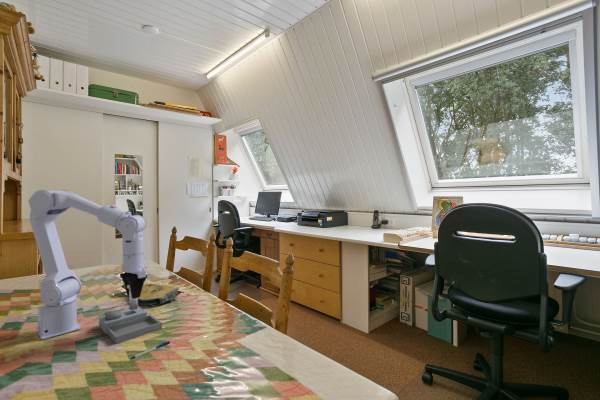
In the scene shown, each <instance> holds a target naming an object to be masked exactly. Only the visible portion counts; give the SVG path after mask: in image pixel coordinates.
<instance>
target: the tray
mask: <svg viewBox="0 0 600 400" xmlns="http://www.w3.org/2000/svg"><path fill="white" fill-rule="evenodd" d="M162 329H163V322H162V321H161V320H159V319H158V318H156V317H155V316H154V315H152V314H148V315H147V316H144V317H141V318H137V319H134V320H130V321H127V322H123V323H120V324H116V325H113V326H109V327H106V333H105V334H106V335H107V336H108V337H109V338H110V339H111V341H112V342H114V344H116V345H117V344H120V343H122V342H126V341H129V340H132V339H135V338H138V337H141V336H144V335H147V334H150V333H154V332H156V331H159V330H162Z"/></svg>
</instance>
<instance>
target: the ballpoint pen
mask: <svg viewBox="0 0 600 400" xmlns="http://www.w3.org/2000/svg"><path fill="white" fill-rule="evenodd" d="M169 344H171V342H170V340H167V341H164V342H162V343H160V344H158V345H156V346H155V347H154V346H153V347H152V348H150V349H147V350H145V351H142V352H140V353H138V354H135V355H133V356H132V357H131V358H130V359H131V360H132V359H136V358H138V357H141V356H143V355H145V354H148V353H151V352H152V351H155V350H157V349H160V348H162V347H165V346H167V345H169Z"/></svg>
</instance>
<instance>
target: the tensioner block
mask: <svg viewBox="0 0 600 400" xmlns="http://www.w3.org/2000/svg"><path fill="white" fill-rule="evenodd" d="M147 314H148V312H147V311H146V310H144V309H143V308H142V307H141V306H138V308H137V309H135V310H129V309H125V310H119V309H116V310H115V309H114V310H110V311H107V312H105V314H104V315H103V316H99V317H98V323H99V324H98V325H99V328H100V329H101V330H102V331H103V332H104V333H105V334H106V327H109V326H113V325H116V324H120V323H123V322H127V321H130V320H134V319H137V318H141V317H144V316H148V315H147Z"/></svg>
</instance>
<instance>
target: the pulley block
mask: <svg viewBox="0 0 600 400" xmlns="http://www.w3.org/2000/svg"><path fill="white" fill-rule="evenodd" d="M121 288H122V289H124V290H126V289H125V285H124V284H122V285H121ZM180 294H185V292H184V291H181V290H179V288H178V287H177V288H175V287H174V286H173V285H169V284H155V283H144V284H143V287H142V291H141V295H140V297H138V307H145V308H146V307H156V308H157V307H158V306H160V305H162V304H165V303H166V302H170V301H173V300H174V299H175V298H176V297H178V296H179V295H180Z"/></svg>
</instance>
